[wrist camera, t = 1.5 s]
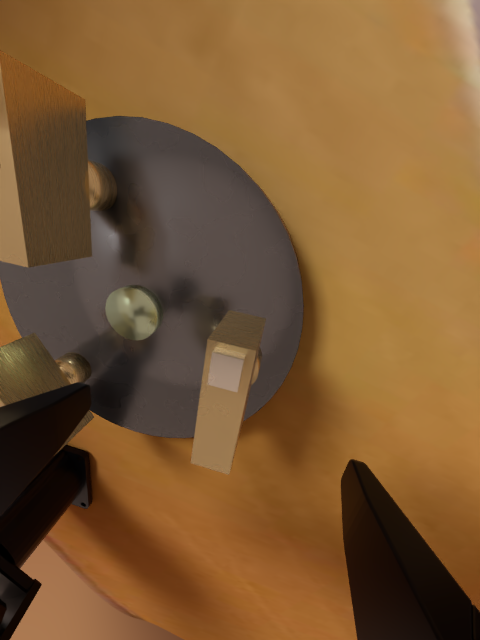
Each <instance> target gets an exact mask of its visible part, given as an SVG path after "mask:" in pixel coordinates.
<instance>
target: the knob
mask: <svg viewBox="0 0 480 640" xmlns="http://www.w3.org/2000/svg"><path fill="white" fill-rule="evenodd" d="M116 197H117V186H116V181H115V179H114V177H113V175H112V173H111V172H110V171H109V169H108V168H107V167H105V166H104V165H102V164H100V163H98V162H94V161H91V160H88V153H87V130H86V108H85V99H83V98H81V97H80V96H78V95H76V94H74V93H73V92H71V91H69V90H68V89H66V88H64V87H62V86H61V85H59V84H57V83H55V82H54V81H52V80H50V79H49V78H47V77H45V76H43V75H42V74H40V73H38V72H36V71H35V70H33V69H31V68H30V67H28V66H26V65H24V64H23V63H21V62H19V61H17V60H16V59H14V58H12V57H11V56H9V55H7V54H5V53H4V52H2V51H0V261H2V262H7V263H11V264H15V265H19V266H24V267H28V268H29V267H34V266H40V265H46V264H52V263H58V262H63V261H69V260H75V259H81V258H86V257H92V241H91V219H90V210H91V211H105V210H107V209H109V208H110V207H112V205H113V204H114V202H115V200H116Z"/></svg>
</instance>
